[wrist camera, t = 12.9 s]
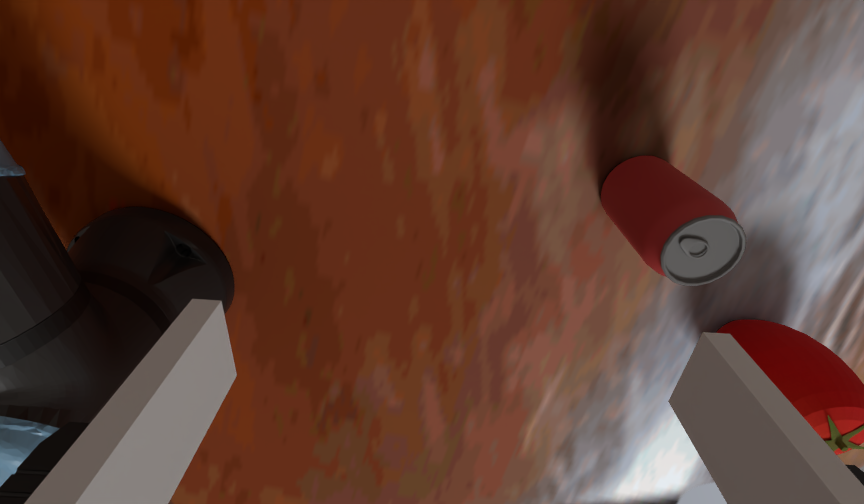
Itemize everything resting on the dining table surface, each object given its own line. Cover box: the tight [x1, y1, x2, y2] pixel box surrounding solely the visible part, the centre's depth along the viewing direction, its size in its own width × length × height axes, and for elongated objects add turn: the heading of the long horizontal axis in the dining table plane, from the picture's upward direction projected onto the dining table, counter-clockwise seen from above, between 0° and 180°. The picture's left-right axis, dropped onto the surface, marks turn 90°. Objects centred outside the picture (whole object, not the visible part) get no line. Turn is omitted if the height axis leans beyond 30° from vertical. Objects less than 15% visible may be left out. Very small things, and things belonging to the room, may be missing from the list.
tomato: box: [716, 319, 864, 455], centre depth 43 cm, size 13×11×14 cm
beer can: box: [601, 156, 746, 286], centre depth 35 cm, size 7×7×12 cm
